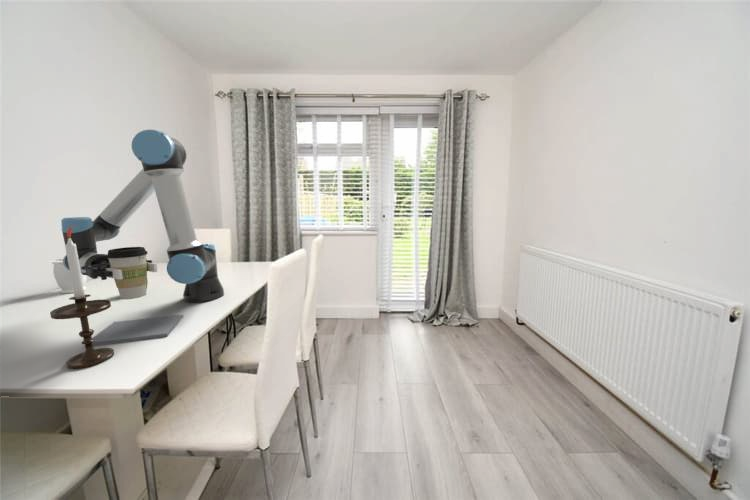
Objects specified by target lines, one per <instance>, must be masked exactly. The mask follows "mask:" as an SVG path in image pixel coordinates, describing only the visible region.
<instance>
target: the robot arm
mask: <svg viewBox="0 0 750 500" xmlns="http://www.w3.org/2000/svg"><path fill="white" fill-rule="evenodd" d="M131 150H132V153H133V155H134V156H135V158H137V160H139V161H140V163H141V166H142V169H141V170H140V171H139V172H138V173H137V174H136V175H135V176H134V178H132V179H131V181H129V182H128V184H127V185H126V186H125V187H124V188H123V189H122V190H121V191H120V192H119V193H118V194H117V195H116V197H115V198H113V200H111V202H109V204H108V205H107V206H106V207H104V209H103V210H102V211H101V212H100V213H99V214H98V215H97V216H96V217H95V218H94V220H93V219H92V218H91V217H89V216H77V217H76V216H75V217H74V216H73V217H64V218H62V219H61V220H60V221H61V232H62V236H63V241H64V245H65V244H67V242H68V237H67V232H68V230H69V228H70V226H71V228H72V231H71V237H70V238H71V240H72V242H73V244H76V248H77V254H78V259H79V265H80V270H81V274H82V275H86V277H88V278H91V279H93V280H96V279H99V278H101V281H105V280H108V278H110V279H113V280H114V279H123V276H122V270H120V269H113V268H110V266H111V265H110V262H109V259H108V258H106V255H107V254H108V253H107V254H106V253H98V249H97V242H101V241H102V242H103V241H108V240H109V241H110V240H112V239H114V238H116V237H118V235H119V233H120V231H121V228H122V226H124V224H125V223H126V222H127V221H128V220H129V219H131V217H132V216H133V214H134V213H136V211H138V209H139V208H141V207H142V205H143V204H144V203H145V202H146V201H147V200H148V199H149V197H151V196H152V194H153V193H154V192H155V196H156V198H157V202H158V206H159V209H160V213H161V217H162V220H163V223H164V227H165V231H166V232H165V233H166V235H167V239H168V242H169V246H168V248H166V252H167V253H166V254H167V257H168V261H167V264H166V272H167V275H168V276H169V278H170V279H172V280H173V281H175V282H176V283H179V284H184V285H185V286H184V289H183V294H182V297H183V301H184V302H188V303H201V302H202V303H203V302H207V301H208V302H209V301H212V300H216V299H218V298H221V297H223V296H224V295H225V289H224V287H223V285H222V283H221V281H220V279H219V275H218V265H217V252H216V247H215V245H214V244H213V243H203V242H201V241H199V240H198V238H197V236H196V235H197V234H196V231H195V227H194V223H193V220H192V216H191V211H190V208H189V205H188V201H187V197H186V193H185V189H184V185H183V182H182V178H181V177H182V176H181V175H182V174H183V173H184V171H185V169H184V164H185V163H186V161H187V151H186V148H185V147H184V145H183V144H182V143H181V142H180V141H179V140H177V139H175V138H173V137H171V136H169V135H168V134H167V133H165V132H163V131H160V130H156V129H151V128H150V129H144V130H141V131H138V133H136V134H135V135H134V137H133V139H132V140H131ZM65 253H66V252H65ZM62 259H63V265H64V267H65V268H66V269H68V270H69V264H68V259H67V253H66V254H65V256H63V258H62ZM146 262H147V272H152V273H158V266H157V263H156V262H153V260H151V259H149V260H148V259H147V258H146Z"/></svg>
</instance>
